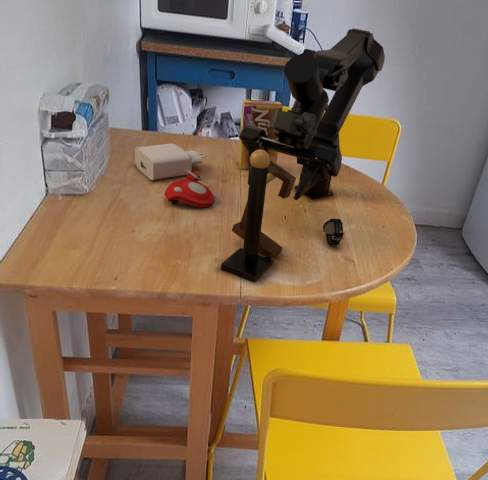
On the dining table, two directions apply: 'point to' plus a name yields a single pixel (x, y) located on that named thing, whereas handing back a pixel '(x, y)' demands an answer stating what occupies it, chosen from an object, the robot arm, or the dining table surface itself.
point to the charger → (165, 160)
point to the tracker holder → (190, 191)
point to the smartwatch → (333, 231)
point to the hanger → (266, 243)
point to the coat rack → (252, 224)
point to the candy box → (257, 125)
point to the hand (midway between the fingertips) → (271, 192)
